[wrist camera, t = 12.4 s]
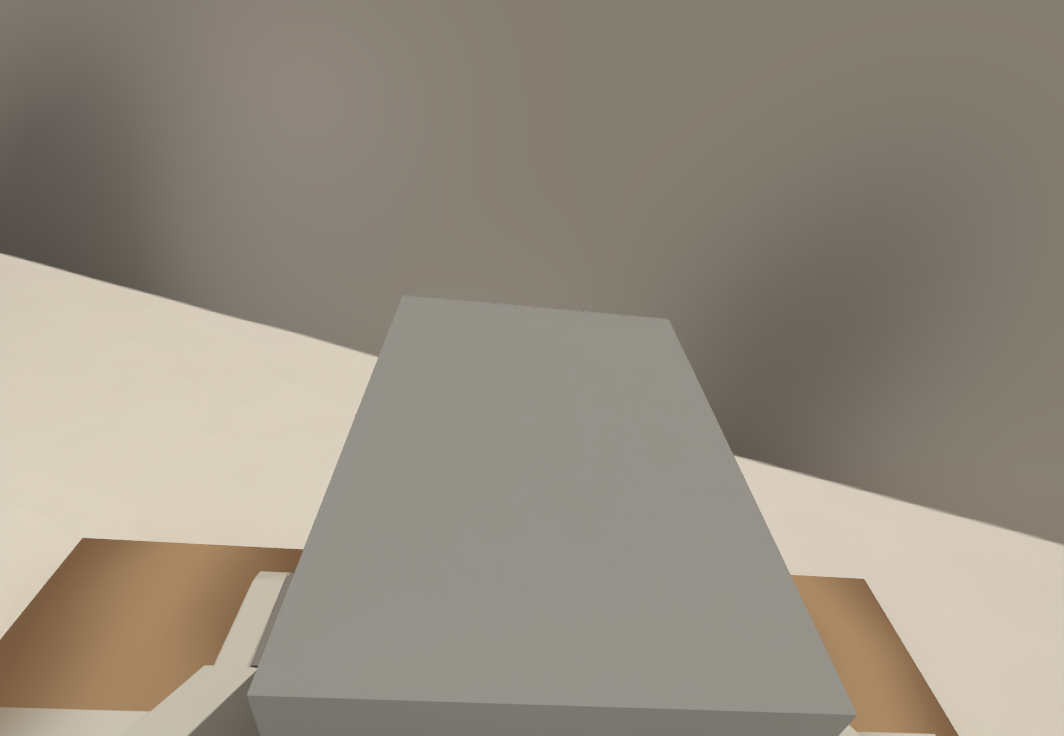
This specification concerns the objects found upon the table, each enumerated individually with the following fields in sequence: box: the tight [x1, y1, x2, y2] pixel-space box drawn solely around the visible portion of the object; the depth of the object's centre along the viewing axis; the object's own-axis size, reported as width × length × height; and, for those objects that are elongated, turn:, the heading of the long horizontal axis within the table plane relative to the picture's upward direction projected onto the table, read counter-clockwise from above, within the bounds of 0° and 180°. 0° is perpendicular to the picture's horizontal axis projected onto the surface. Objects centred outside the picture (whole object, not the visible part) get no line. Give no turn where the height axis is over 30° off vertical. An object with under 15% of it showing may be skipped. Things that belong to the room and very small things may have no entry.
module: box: [247, 295, 857, 736], centre depth 11 cm, size 5×7×12 cm
